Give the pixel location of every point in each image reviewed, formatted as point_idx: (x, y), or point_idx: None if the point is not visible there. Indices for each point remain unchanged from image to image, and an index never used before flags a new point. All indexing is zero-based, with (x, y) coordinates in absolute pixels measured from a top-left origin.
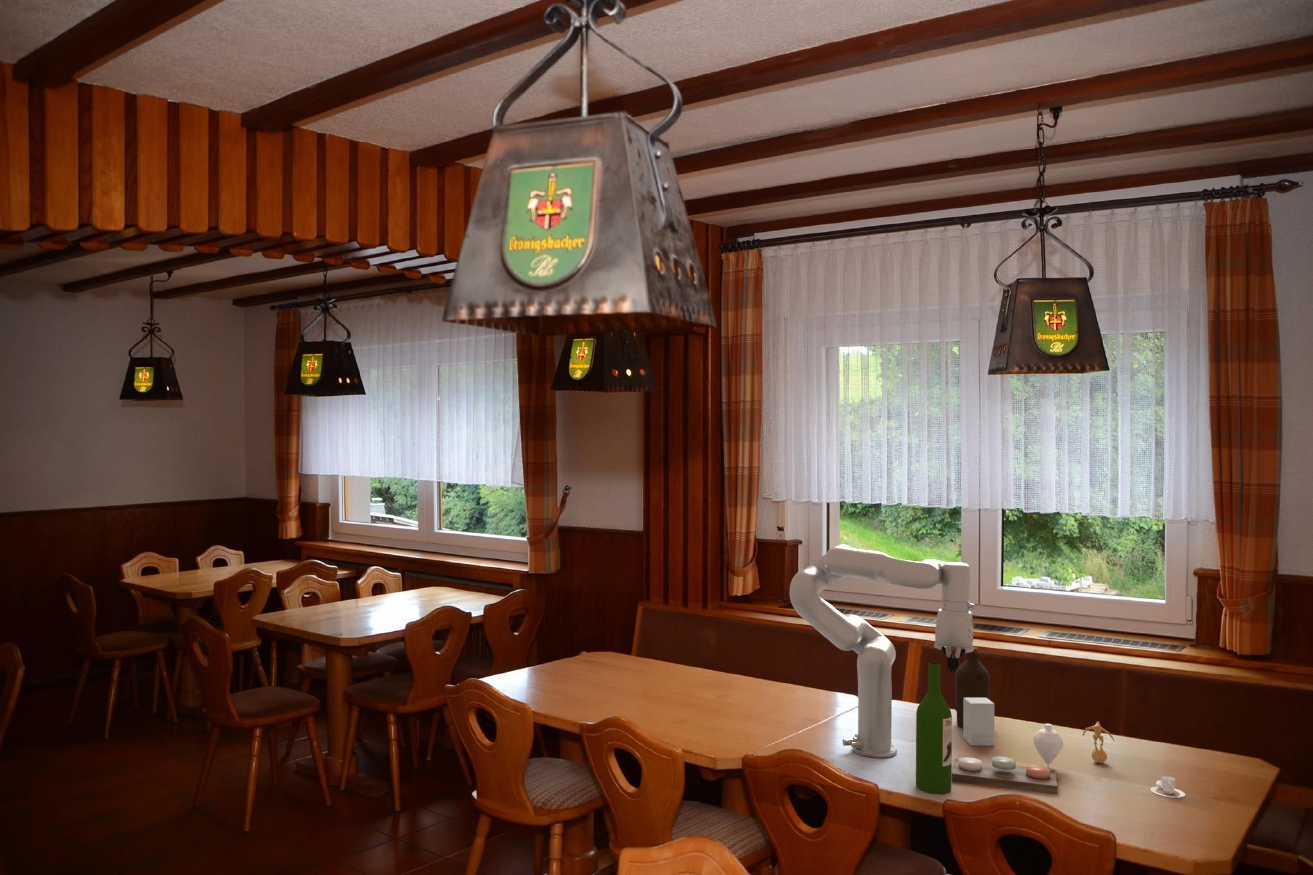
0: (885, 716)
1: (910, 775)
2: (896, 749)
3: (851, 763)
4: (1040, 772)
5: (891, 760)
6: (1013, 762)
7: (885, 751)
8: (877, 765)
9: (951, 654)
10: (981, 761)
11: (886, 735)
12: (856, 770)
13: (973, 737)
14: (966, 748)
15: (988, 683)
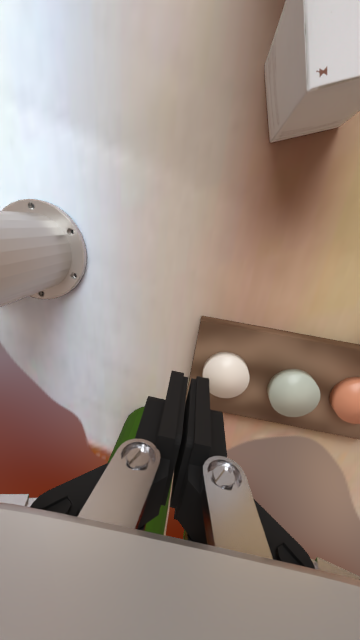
0: (9, 301)
1: (117, 379)
2: (83, 258)
3: (12, 334)
4: (355, 423)
5: (80, 304)
6: (312, 406)
7: (61, 281)
8: (58, 337)
9: (152, 515)
10: (249, 377)
11: (43, 286)
12: (27, 368)
13: (283, 135)
14: (253, 175)
15: None
